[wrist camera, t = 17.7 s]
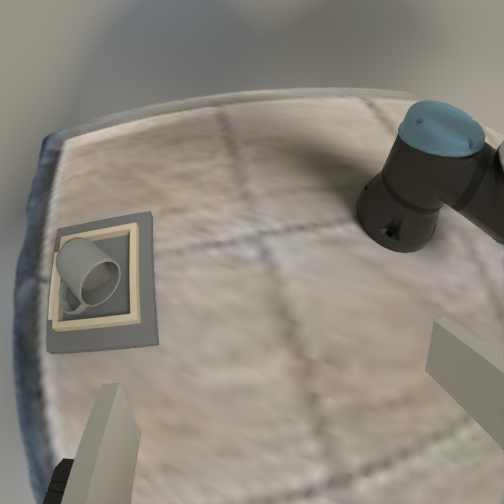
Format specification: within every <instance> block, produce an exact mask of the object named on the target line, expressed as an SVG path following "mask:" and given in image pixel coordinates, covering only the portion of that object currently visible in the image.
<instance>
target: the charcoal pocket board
mask: <svg viewBox="0 0 504 504" xmlns="http://www.w3.org/2000/svg"><path fill="white" fill-rule="evenodd" d="M76 237H82V238H86V239H88V240H90V241H91V242H93V243H94V244H95V245H96V246H98V247H99V248H100V249H101V250H103V251H104V252H105V253H106V254H108V255H109V256H110V257H111V258H113V259H114V260H115V261H116V262H117V263H118V264H119V267H120V270H121V278H120V281H119V284H118V286H117V288H116V290H115V291H114V293H113V294H112V295H111V296H110V297H109V298H108V299H107V300H106V301H105V302H103V303H102V304H100V305H98V306H94V307H87V308H86V309H85V311H84V312H83V313H81V314H79V315H70V314H67V313H66V312H65V311H64V310H63V309H62V307H61V305H60V302H59V288H60V285H61V282H62V281H63V280H62V278H61V277H60V275H59V273H58V271H57V268H56V258H57V254H58V252H59V250H60V249H61V247H62V246H63V245H64V244H65V243H66V242H67V241H69V240H70V239H73V238H76ZM66 300H67V301H68V304H69V306H70V307H71V309H72V310H73V311H74V310H76V309H77V308H78V306H79V305H80V304H81V302H80V301H79V300H78V298H77V297H76V296H75V295H74V293H73V292H72V291H71V290H70V288H69V287H68V288H67V292H66ZM156 345H159V339H158V327H157V315H156V300H155V283H154V260H153V216H152V214H151V211H149V212H143V213H138V214H132V215H127V216H121V217H116V218H111V219H106V220H100V221H95V222H90V223H86V224H81V225H76V226H71V227H66V228H62V229H58V233H57V239H56V245H55V252H54V259H53V266H52V274H51V283H50V294H49V306H48V322H47V352H49V353H51V354H59V353H77V352H92V351H105V350H116V349H127V348H137V347H147V346H156Z"/></svg>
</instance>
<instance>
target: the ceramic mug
mask: <svg viewBox="0 0 504 504" xmlns="http://www.w3.org/2000/svg"><path fill="white" fill-rule="evenodd" d="M56 268H57V271H58V273H59V275H60V277H61V278H62V280H63V281H62V282H61V285H60V288H59V302H60V305H61V307H62V309H63V310H64V311H65V312H66V313H67V314H70V315H79V314H81V313H83V312H84V311H85V309H86V308H87V307H94V306H98V305H100V304H102V303H103V302H105V301H106V300H107V299H108V298H109V297H110V296H111V295H112V294H113V293H114V291H115V290H116V288H117V286H118V284H119V281H120V278H121V270H120V267H119V264H118V263H117V262H116V261H115V260H114V259H113V258H111V257H110V256H109V255H108V254H106V253H105V252H104V251H103V250H101V249H100V248H99V247H98V246H96V245H95V244H94V243H93V242H91V241H90V240H88V239H86V238H82V237H76V238H73V239H70V240H69V241H67V242H66V243H65V244H64V245H63V246H62V247H61V249H60V250H59V252H58V254H57V258H56ZM68 287H69V288H70V290H71V291H72V292H73V293H74V295H75V296H76V297H77V298H78V300H79V301H80V302H81V304H80V305H79V306H78V308H77V309H76V310H74V311H73V310H72V309H71V307H70V306H69V304H68V301H67V300H66V292H67V288H68Z"/></svg>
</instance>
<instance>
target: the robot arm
mask: <svg viewBox="0 0 504 504" xmlns="http://www.w3.org/2000/svg"><path fill="white" fill-rule="evenodd" d="M444 203H445V204H447V205H448V206H450V207H451V208H453V209H454V210H456V211H457V212H458V213H460V214H461V215H463V216H464V217H465V218H467V219H468V220H469V221H471V222H472V223H473V224H475V225H476V226H478V227H479V228H480V229H481V230H483V231H484V232H485V233H487V234H488V235H489V236H491V237H492V238H493V239H494V240H495V241H496V242H498V243H499V244H502V245H504V141H503V142H502V143H501V145H500V146H499V147H498V149H497V150H496V149H494V148H493V147H492V146H490V145H489V144H487V143H486V142H485V134H484V131H483V129H482V128H481V126H480V125H479V124H478V123H477V122H476V121H474V120H472V117H471V116H469V115H468V114H467V113H465V112H464V111H462V110H460V109H458V108H456V107H454V106H451V105H449V104H446V103H442V102H438V101H420V102H417V103H415V104H414V105H412V106H411V107H410V108H409V110H408V112H407V114H406V116H405V118H404V120H403V122H402V123H401V124H400V125H399V128H398V135H397V137H396V140H395V142H394V144H393V147H392V149H391V151H390V153H389V156H388V158H387V160H386V162H385V165H384V167H383V169H382V171H381V172H380V173H378V174H377V175H376V176H375V177H374V178H373V179H372V180H371V181H370V182H369V183H367V184H366V186H365V187H364V188H363V190H362V192H361V194H360V197H359V199H358V202H357V213H358V217H359V220H360V222H361V224H362V226H363V228H364V229H365V230H366V232H367V233H368V234H369V235H370V236H371V237H372V238H373V239H374V240H375V241H376V242H378V243H379V244H381V245H382V246H384V247H386V248H388V249H390V250H393V251H397V252H403V253H408V252H414V251H417V250H419V249H421V248H422V247H424V246H425V245H426V243H427V242H428V241H429V240H430V238H431V237H432V235H433V233H434V231H435V227H436V221H437V218H438V214H439V211H440V209H441V207H442V206H443V204H444ZM425 371H426V372H427V373H428V374H429V375H430V376H431V377H432V378H433V379H434V380H436V381H437V382H438V383H439V384H440V385H441V386H442V387H443V388H444V389H445V390H446V391H447V392H448V393H449V394H450V395H451V396H452V397H453V398H454V399H455V400H456V401H457V402H458V403H459V404H460V405H461V406H462V407H463V408H464V409H465V410H466V411H467V412H468V413H469V414H470V415H471V416H472V417H473V418H474V420H475V421H476V422H477V423H478V424H479V425H480V426H481V427H482V428H483V429H484V430H485V431H486V432H487V433H488V434H489V435H490V436H491V437H492V438H493V439H494V440H495V441H496V442H497V443H498V444H499V445H500V446H501V447H502V449H503V450H504V357H503V356H502V355H501V354H499V353H498V352H496V351H495V350H494V349H492V348H491V347H490V346H488V345H487V344H485V343H484V342H482V341H481V340H480V339H478V338H477V337H475V336H474V335H473V334H471V333H470V332H468V331H467V330H465V329H464V328H462V327H461V326H460V325H458V324H457V323H455V322H454V321H452V320H451V319H449V318H448V317H446V316H445V317H443V318H440V319H437V320H434V323H433V330H432V336H431V342H430V348H429V353H428V358H427V364H426V368H425ZM140 436H141V430H140V428H139V426H138V424H137V422H136V420H135V417H134V415H133V413H132V411H131V409H130V406H129V404H128V402H127V400H126V397H125V395H124V393H123V390H122V388H121V386H120V383H115V384H102V385H101V388H100V390H99V393H98V395H97V398H96V401H95V403H94V406H93V408H92V411H91V414H90V416H89V419H88V422H87V425H86V427H85V430H84V433H83V436H82V439H81V442H80V444H79V447H78V450H77V453H76V456H75V459H65V458H63V460H62V461H61V462H60V463H59V464H58V465H57V466H56V468H55V469H54V472H53V475H52V478H51V482H50V484H49V487H48V492H47V493H46V496H45V499H44V502H43V504H131V498H132V490H133V482H134V475H135V468H136V461H137V455H138V449H139V442H140Z"/></svg>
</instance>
